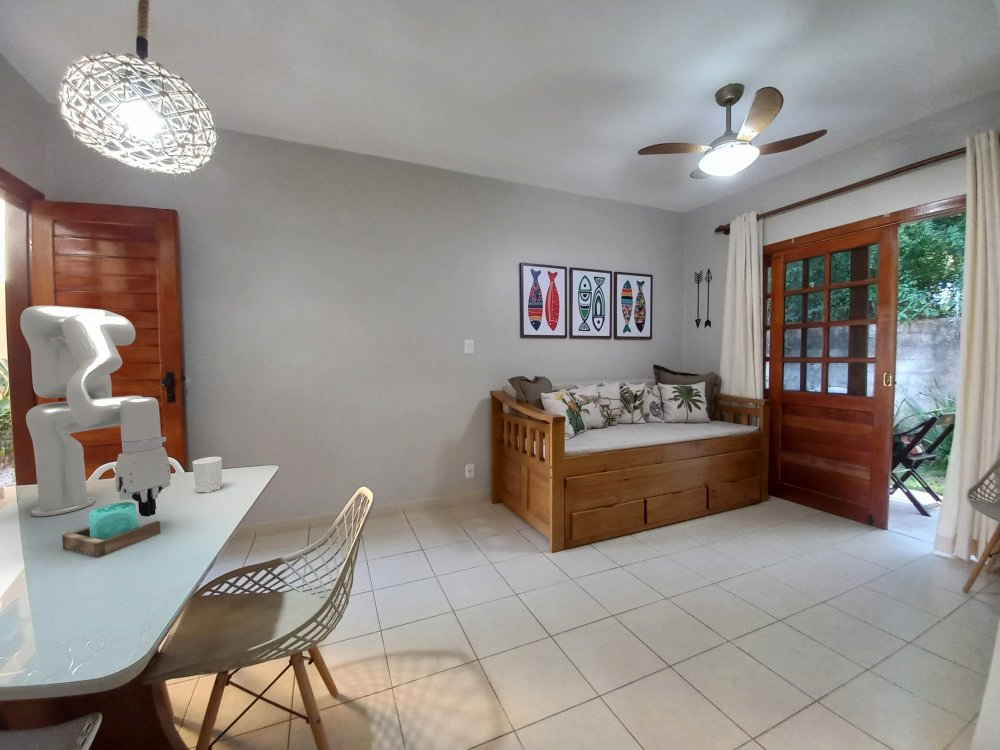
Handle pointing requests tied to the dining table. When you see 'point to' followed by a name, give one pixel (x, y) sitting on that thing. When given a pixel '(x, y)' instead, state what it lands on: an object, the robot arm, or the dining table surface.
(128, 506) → the decorative dice
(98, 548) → the corral
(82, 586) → the dining table surface
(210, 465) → the white cup
